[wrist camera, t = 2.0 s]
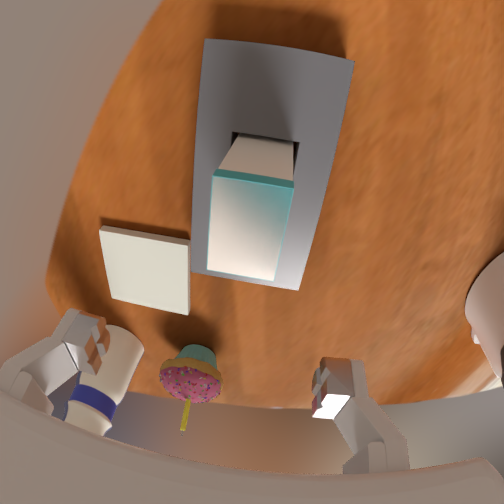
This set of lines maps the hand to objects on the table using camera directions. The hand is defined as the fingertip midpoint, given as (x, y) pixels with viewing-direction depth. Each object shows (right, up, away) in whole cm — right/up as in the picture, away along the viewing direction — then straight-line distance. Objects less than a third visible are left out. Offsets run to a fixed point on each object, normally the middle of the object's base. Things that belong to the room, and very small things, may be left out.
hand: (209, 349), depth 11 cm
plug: (+3, +11, +15) cm, 19 cm away
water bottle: (-18, -10, +33) cm, 39 cm away
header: (+3, +11, +15) cm, 19 cm away
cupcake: (-6, -11, +32) cm, 34 cm away
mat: (-10, +1, +24) cm, 26 cm away
